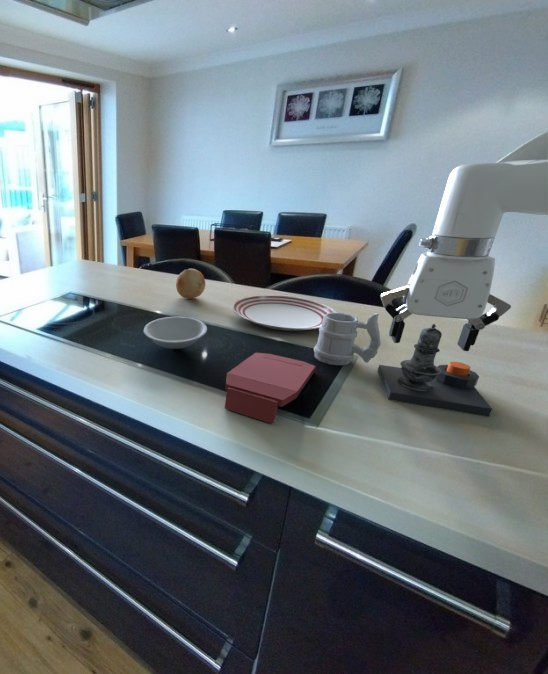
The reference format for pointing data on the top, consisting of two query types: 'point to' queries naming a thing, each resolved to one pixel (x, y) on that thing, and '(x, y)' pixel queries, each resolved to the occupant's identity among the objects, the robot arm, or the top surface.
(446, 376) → the scale
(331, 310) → the dinner plate
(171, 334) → the dish
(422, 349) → the salt shaker
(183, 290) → the onion
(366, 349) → the mug
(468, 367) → the button
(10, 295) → the top surface
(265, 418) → the carton
